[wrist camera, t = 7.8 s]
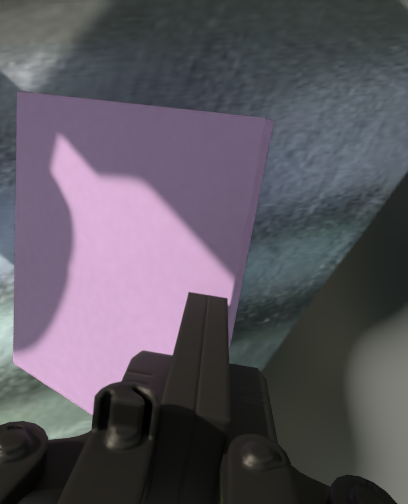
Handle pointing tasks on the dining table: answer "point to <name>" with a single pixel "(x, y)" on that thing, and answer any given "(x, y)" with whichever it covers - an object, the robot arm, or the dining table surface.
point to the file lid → (124, 230)
